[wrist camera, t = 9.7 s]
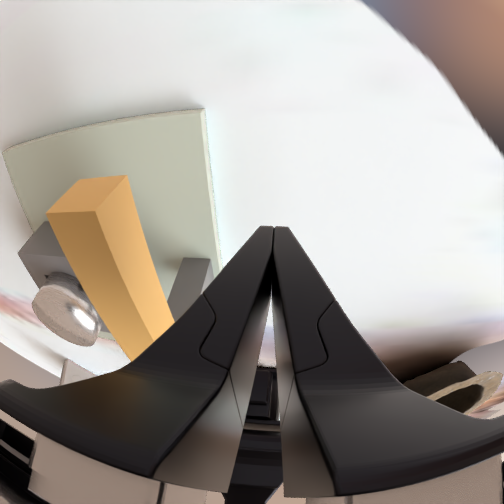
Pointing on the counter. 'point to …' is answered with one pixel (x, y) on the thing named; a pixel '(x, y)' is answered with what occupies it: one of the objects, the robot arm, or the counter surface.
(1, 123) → the counter surface
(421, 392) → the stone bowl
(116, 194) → the bar
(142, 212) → the block
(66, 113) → the counter surface
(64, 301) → the pin
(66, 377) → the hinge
